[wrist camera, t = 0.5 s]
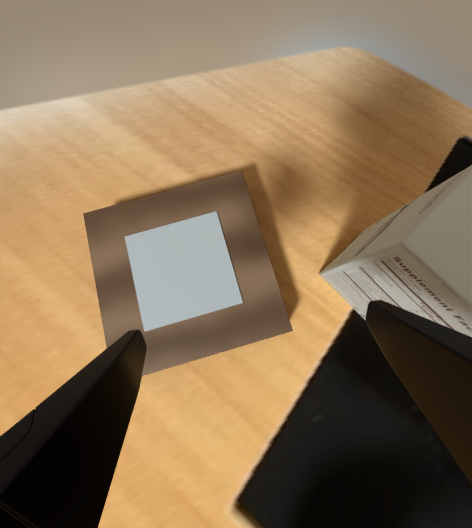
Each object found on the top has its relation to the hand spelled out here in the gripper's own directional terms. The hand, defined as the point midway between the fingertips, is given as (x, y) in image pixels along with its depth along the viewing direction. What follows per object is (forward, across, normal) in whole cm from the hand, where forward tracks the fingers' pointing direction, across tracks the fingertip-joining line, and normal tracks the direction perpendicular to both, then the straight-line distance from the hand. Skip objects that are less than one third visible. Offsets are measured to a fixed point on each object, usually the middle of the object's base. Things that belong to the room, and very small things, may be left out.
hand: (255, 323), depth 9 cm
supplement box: (+13, -13, +7) cm, 19 cm away
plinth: (+14, +5, +5) cm, 16 cm away
